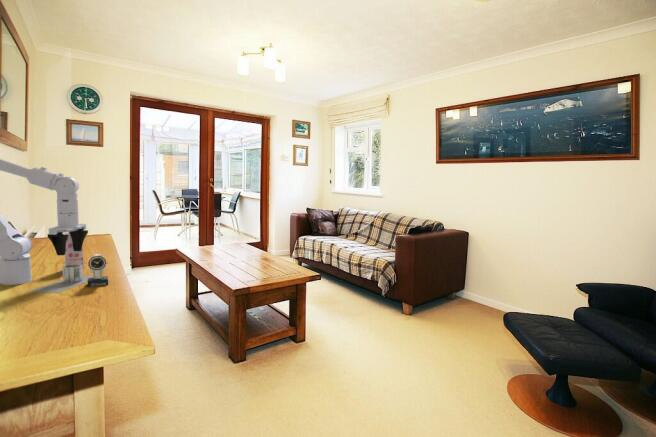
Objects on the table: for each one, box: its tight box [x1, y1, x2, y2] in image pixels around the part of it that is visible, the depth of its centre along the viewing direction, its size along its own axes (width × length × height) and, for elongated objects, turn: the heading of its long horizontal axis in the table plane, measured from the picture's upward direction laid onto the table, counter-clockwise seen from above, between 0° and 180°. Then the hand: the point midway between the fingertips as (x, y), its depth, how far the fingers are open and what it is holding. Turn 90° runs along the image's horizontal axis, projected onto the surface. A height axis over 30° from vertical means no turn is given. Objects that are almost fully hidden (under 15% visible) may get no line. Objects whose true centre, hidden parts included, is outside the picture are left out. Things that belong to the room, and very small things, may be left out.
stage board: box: [28, 275, 93, 294], centre depth 116 cm, size 9×20×1 cm, turn 179°
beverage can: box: [64, 232, 85, 269], centre depth 135 cm, size 6×6×15 cm
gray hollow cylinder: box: [62, 264, 84, 283], centre depth 119 cm, size 5×5×5 cm
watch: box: [87, 253, 109, 288], centre depth 116 cm, size 6×8×11 cm
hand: (69, 253), depth 122 cm, fingers open, 7 cm apart
